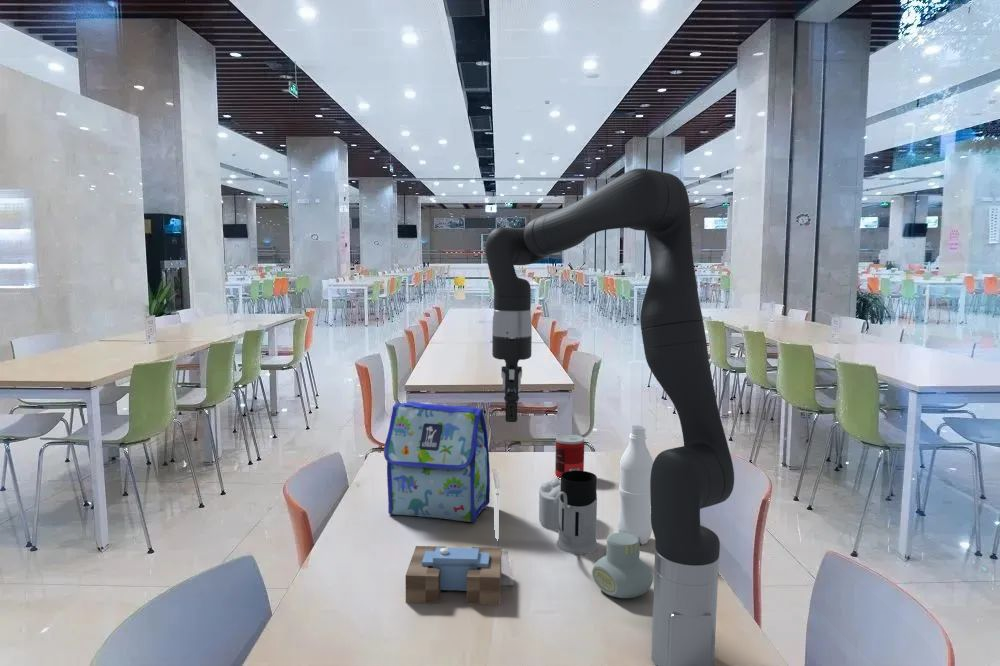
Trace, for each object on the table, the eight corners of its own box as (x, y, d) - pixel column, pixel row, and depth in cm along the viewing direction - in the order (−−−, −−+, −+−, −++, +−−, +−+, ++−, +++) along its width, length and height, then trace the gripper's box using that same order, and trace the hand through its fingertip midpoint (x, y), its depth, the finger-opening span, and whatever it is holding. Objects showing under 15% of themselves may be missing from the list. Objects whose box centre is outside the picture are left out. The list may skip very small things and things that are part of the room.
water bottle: (651, 549, 141) (655, 432, 138) (617, 545, 142) (620, 430, 139) (651, 535, 148) (655, 423, 145) (618, 532, 149) (621, 421, 146)
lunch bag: (381, 520, 155) (379, 409, 152) (407, 495, 171) (406, 394, 168) (473, 530, 149) (474, 415, 146) (492, 503, 165) (493, 399, 162)
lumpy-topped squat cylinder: (541, 530, 150) (541, 492, 149) (537, 508, 163) (537, 473, 162) (587, 530, 150) (588, 492, 149) (579, 508, 163) (580, 473, 162)
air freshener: (659, 598, 121) (661, 545, 119) (623, 610, 117) (625, 555, 115) (620, 573, 130) (621, 523, 129) (585, 583, 126) (586, 532, 125)
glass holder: (605, 542, 144) (606, 474, 142) (573, 567, 132) (575, 494, 130) (568, 532, 149) (570, 466, 147) (535, 556, 137) (536, 485, 135)
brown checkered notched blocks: (499, 604, 118) (499, 577, 117) (405, 602, 118) (405, 575, 118) (501, 572, 130) (501, 547, 129) (416, 570, 130) (416, 545, 130)
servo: (488, 591, 122) (488, 556, 121) (422, 589, 122) (421, 554, 121) (489, 579, 126) (489, 545, 125) (425, 577, 127) (425, 543, 126)
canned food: (588, 475, 187) (589, 436, 186) (575, 483, 181) (576, 443, 179) (563, 470, 191) (564, 432, 190) (550, 478, 185) (551, 439, 183)
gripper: (493, 329, 136) (492, 407, 138) (491, 337, 122) (490, 425, 124) (530, 329, 136) (529, 408, 138) (532, 338, 122) (531, 425, 124)
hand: (511, 416), depth 131 cm, fingers open, 8 cm apart
